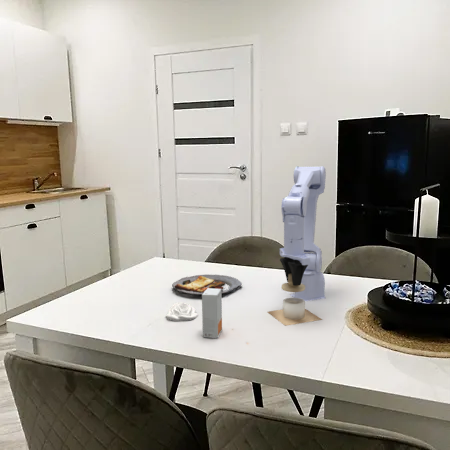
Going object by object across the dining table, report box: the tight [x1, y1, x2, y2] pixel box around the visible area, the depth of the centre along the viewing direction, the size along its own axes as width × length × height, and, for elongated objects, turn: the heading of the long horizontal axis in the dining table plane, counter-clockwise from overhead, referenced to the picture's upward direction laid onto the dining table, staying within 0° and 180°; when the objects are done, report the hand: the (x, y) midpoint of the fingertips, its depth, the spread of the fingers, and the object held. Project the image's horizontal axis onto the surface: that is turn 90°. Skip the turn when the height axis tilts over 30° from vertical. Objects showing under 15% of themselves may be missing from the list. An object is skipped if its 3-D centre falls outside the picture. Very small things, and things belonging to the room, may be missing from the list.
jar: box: [282, 296, 306, 319], centre depth 134 cm, size 6×6×4 cm
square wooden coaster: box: [267, 308, 323, 327], centre depth 134 cm, size 12×12×1 cm
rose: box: [165, 301, 199, 322], centre depth 137 cm, size 10×4×10 cm
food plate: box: [171, 274, 243, 296], centre depth 164 cm, size 25×23×4 cm
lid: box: [281, 273, 305, 293], centre depth 132 cm, size 7×7×4 cm
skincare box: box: [201, 288, 223, 339], centre depth 123 cm, size 6×4×12 cm
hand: (293, 283), depth 132 cm, fingers closed on lid, 3 cm apart
